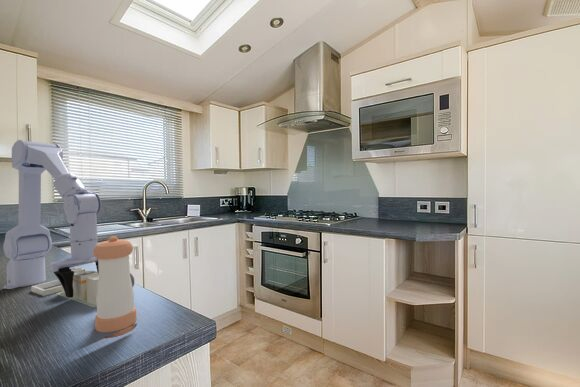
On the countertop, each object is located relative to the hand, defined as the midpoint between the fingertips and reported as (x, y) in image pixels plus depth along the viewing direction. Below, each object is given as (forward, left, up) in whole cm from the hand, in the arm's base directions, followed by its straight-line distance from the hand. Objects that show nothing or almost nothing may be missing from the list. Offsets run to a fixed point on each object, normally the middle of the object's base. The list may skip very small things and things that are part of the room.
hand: (86, 291), depth 75 cm
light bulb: (+16, -3, -2) cm, 16 cm away
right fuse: (+6, -1, -1) cm, 7 cm away
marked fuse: (0, 0, -1) cm, 1 cm away
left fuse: (-6, +1, -1) cm, 7 cm away
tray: (-14, +1, -2) cm, 15 cm away
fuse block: (0, 0, -2) cm, 2 cm away
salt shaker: (+22, -9, -2) cm, 23 cm away
